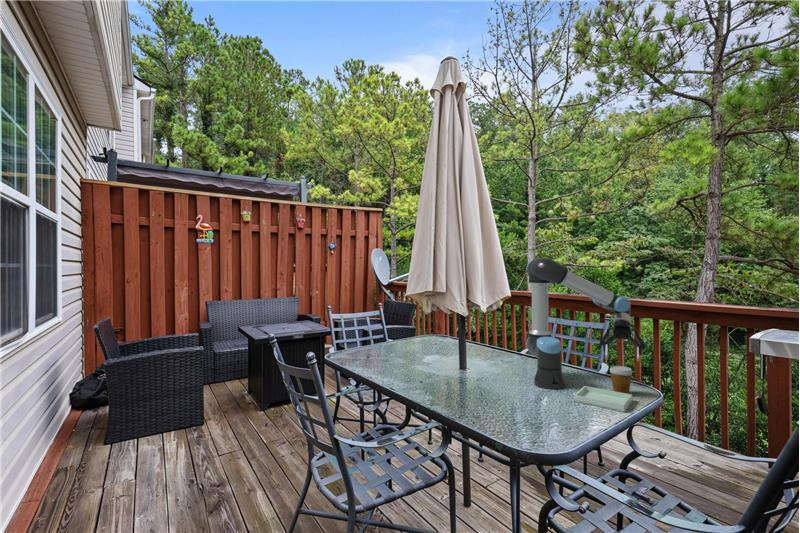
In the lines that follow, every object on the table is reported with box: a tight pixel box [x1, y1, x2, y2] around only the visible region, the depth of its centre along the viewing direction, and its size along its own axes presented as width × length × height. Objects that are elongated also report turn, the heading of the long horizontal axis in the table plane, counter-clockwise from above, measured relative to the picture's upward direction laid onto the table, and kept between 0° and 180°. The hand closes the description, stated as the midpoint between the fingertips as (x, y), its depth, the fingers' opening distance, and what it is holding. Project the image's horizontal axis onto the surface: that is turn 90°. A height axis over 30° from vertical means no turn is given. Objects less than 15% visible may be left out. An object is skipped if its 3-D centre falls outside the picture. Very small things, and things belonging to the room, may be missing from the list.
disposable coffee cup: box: [609, 365, 633, 394], centre depth 183 cm, size 10×10×12 cm
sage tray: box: [573, 385, 633, 413], centre depth 174 cm, size 20×16×3 cm
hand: (621, 358), depth 192 cm, fingers open, 13 cm apart
